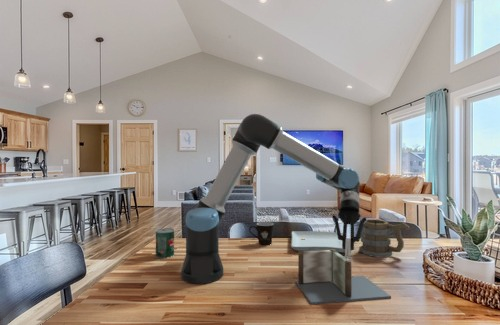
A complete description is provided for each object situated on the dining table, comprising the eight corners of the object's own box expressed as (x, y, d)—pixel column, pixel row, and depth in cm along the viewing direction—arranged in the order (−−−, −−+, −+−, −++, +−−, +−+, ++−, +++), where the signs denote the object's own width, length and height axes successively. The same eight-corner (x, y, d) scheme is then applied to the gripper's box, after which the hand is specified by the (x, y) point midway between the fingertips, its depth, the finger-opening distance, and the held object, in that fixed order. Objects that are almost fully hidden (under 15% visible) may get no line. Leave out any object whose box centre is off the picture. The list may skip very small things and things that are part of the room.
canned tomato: (175, 256, 119) (175, 231, 119) (156, 259, 115) (156, 233, 115) (172, 251, 126) (172, 227, 126) (154, 253, 123) (154, 229, 123)
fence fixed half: (299, 284, 90) (299, 252, 90) (297, 281, 92) (297, 250, 92) (337, 282, 92) (337, 250, 92) (334, 279, 94) (334, 248, 94)
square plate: (291, 237, 150) (291, 230, 150) (343, 239, 146) (343, 232, 146) (291, 253, 124) (291, 245, 124) (354, 256, 119) (354, 247, 119)
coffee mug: (276, 242, 139) (276, 223, 139) (268, 247, 131) (268, 226, 131) (256, 239, 145) (256, 220, 145) (248, 243, 138) (248, 223, 138)
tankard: (355, 252, 124) (355, 219, 124) (367, 246, 133) (367, 215, 133) (403, 263, 110) (403, 226, 110) (413, 256, 118) (413, 221, 118)
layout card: (311, 304, 79) (311, 301, 79) (295, 281, 93) (295, 279, 93) (390, 298, 82) (390, 295, 82) (363, 277, 97) (363, 275, 97)
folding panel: (332, 282, 91) (332, 251, 91) (337, 281, 91) (337, 251, 91) (346, 296, 81) (346, 262, 81) (352, 296, 81) (352, 262, 81)
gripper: (332, 197, 114) (327, 249, 98) (367, 199, 109) (368, 254, 93) (333, 208, 119) (329, 259, 103) (366, 210, 114) (367, 264, 98)
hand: (347, 257), depth 98 cm, fingers closed
